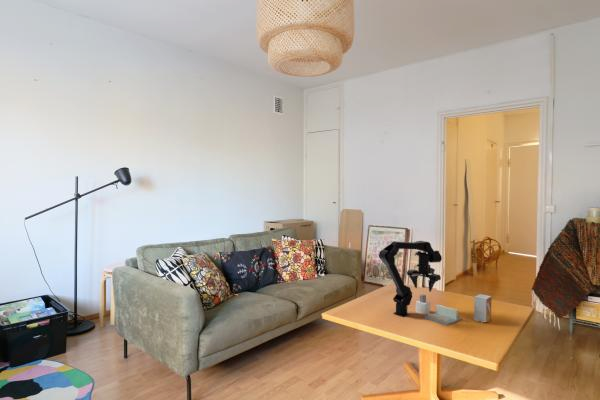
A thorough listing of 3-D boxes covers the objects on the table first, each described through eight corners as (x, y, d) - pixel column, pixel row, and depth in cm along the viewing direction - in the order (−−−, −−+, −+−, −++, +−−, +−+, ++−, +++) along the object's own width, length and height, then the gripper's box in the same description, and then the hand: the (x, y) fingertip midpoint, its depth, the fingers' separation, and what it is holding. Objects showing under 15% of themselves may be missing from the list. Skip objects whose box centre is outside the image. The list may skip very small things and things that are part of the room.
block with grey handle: (424, 314, 201) (425, 297, 201) (415, 311, 206) (415, 294, 206) (429, 312, 204) (430, 295, 204) (420, 310, 209) (421, 293, 209)
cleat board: (447, 325, 184) (447, 314, 184) (423, 317, 196) (423, 308, 195) (461, 319, 193) (461, 309, 193) (438, 312, 204) (438, 303, 204)
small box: (486, 323, 188) (486, 299, 187) (473, 320, 192) (474, 296, 192) (491, 319, 193) (491, 296, 193) (479, 316, 198) (479, 293, 198)
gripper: (446, 264, 203) (445, 291, 203) (417, 259, 218) (417, 284, 218) (435, 266, 196) (434, 294, 196) (406, 260, 211) (406, 287, 211)
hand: (422, 289), depth 205 cm, fingers open, 9 cm apart
